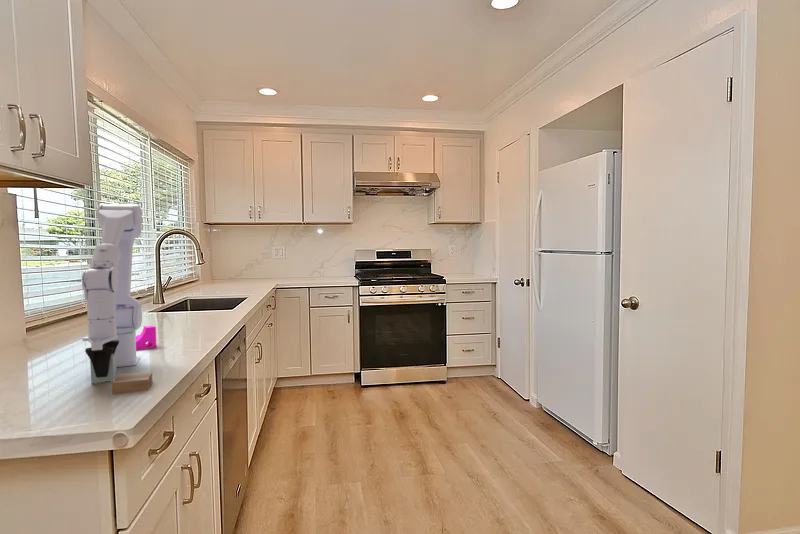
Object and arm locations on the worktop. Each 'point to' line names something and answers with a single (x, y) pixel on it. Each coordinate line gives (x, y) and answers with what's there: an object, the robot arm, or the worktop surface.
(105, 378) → the slate block
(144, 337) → the toy block
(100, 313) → the robot arm
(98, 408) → the worktop surface
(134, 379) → the walnut plinth
